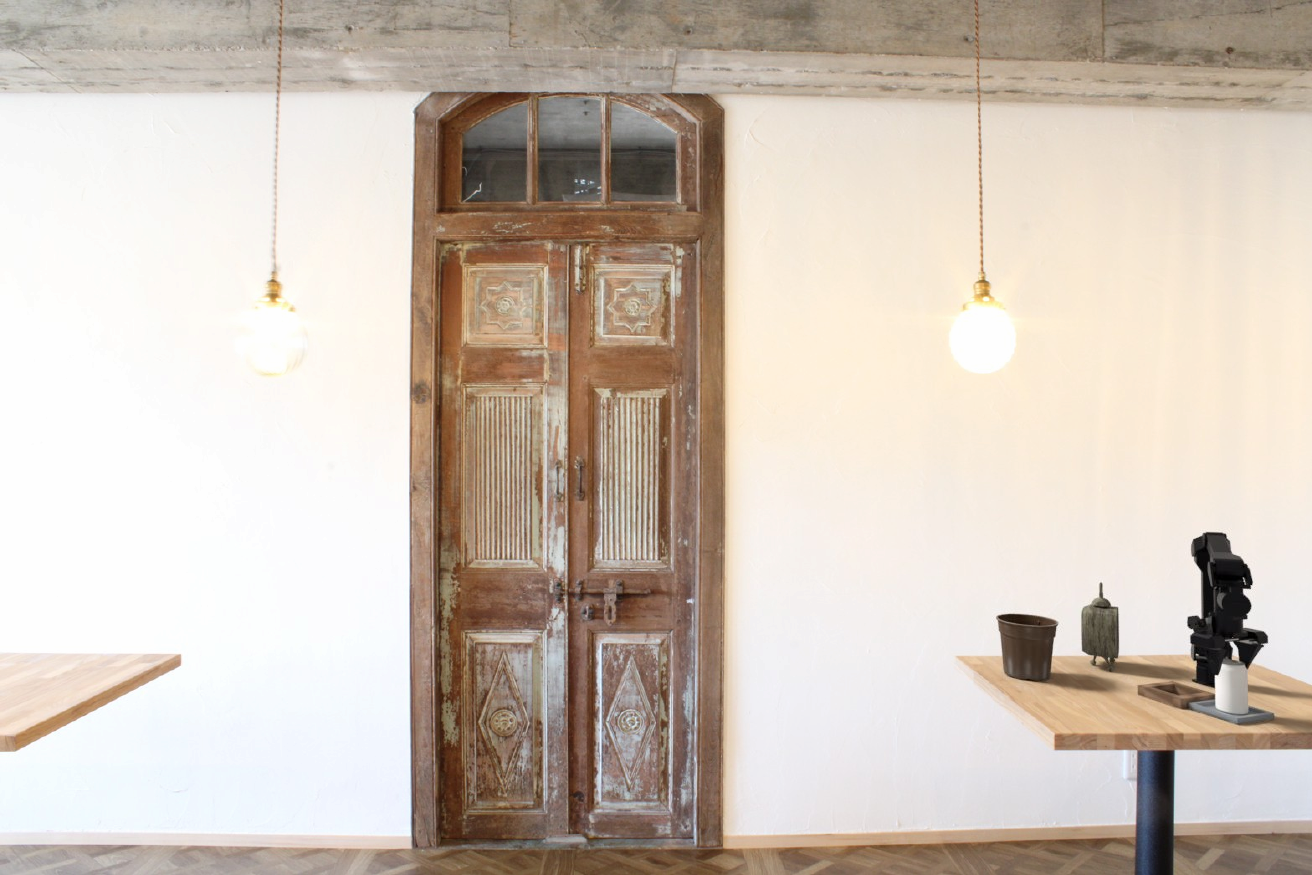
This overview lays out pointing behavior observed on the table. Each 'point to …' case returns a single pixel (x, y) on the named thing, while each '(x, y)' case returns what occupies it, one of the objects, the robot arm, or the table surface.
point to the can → (1232, 688)
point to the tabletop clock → (1100, 630)
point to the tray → (1211, 710)
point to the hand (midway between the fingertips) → (1229, 673)
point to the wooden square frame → (1165, 690)
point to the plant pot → (1027, 645)
